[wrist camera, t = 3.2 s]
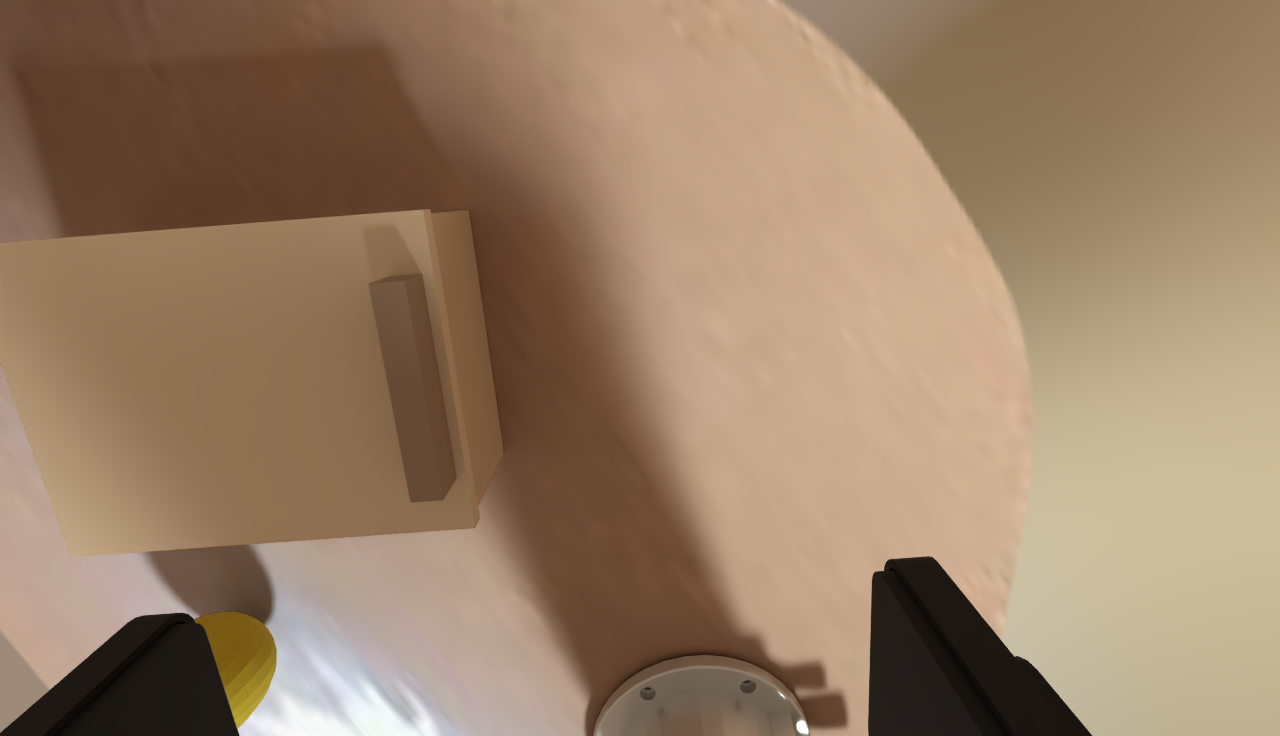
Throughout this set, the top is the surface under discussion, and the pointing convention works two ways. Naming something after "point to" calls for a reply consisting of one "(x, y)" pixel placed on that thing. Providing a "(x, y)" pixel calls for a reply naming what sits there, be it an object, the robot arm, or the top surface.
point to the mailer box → (469, 343)
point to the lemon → (241, 659)
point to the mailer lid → (238, 382)
